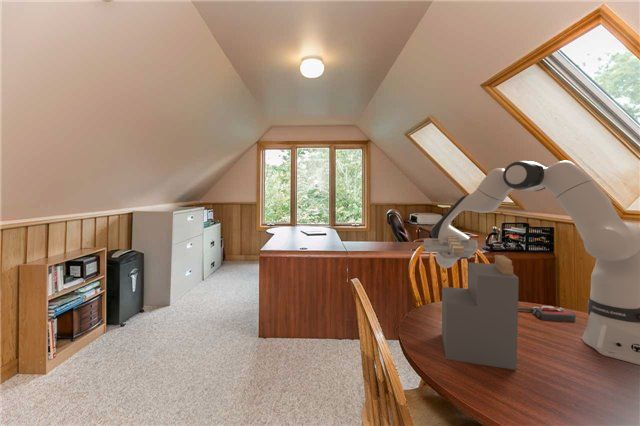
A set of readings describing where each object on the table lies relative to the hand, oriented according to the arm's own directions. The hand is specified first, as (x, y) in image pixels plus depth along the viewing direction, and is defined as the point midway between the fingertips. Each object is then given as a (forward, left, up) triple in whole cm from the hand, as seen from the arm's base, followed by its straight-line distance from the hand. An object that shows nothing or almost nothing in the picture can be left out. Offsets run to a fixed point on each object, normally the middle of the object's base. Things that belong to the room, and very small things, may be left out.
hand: (451, 238), depth 113 cm
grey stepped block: (-18, +17, -32) cm, 40 cm away
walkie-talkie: (-21, -31, -32) cm, 49 cm away
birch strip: (-6, +7, -2) cm, 9 cm away
